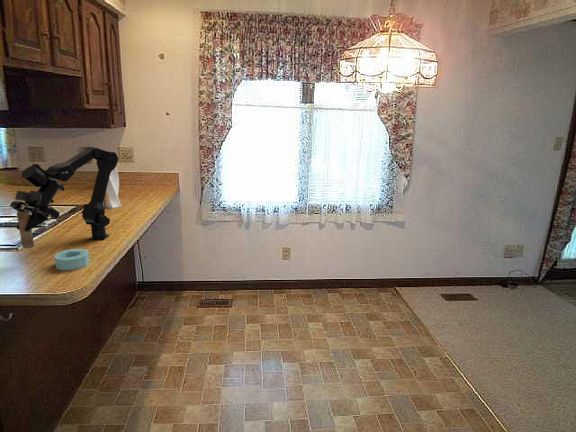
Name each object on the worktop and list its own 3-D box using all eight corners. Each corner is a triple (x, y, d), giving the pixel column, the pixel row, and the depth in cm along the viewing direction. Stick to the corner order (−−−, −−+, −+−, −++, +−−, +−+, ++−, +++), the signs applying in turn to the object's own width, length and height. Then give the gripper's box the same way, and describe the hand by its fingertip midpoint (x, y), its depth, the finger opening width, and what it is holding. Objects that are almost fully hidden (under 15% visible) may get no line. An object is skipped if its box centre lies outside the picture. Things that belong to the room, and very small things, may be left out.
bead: (66, 258, 151) (65, 248, 149) (95, 258, 151) (93, 249, 150) (49, 269, 140) (48, 259, 139) (80, 270, 140) (79, 260, 139)
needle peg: (26, 244, 145) (20, 211, 141) (36, 245, 145) (30, 211, 141) (20, 248, 142) (14, 213, 138) (30, 248, 142) (24, 214, 138)
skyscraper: (115, 204, 230) (111, 156, 223) (124, 206, 227) (120, 158, 219) (102, 207, 223) (97, 158, 216) (112, 209, 219) (107, 159, 212)
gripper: (10, 179, 144) (-16, 215, 137) (47, 184, 137) (22, 222, 130) (34, 196, 153) (10, 230, 146) (69, 201, 147) (47, 237, 140)
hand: (21, 230), depth 140 cm, fingers closed on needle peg, 4 cm apart
